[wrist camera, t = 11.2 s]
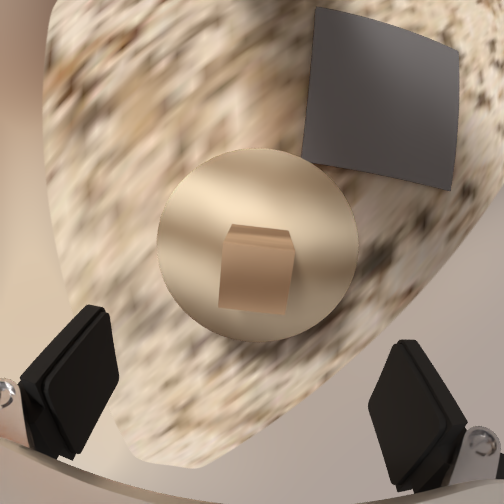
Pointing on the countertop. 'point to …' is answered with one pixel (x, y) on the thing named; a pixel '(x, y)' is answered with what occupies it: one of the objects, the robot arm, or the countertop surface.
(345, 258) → the lid
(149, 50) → the countertop surface
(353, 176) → the countertop surface
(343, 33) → the mat
